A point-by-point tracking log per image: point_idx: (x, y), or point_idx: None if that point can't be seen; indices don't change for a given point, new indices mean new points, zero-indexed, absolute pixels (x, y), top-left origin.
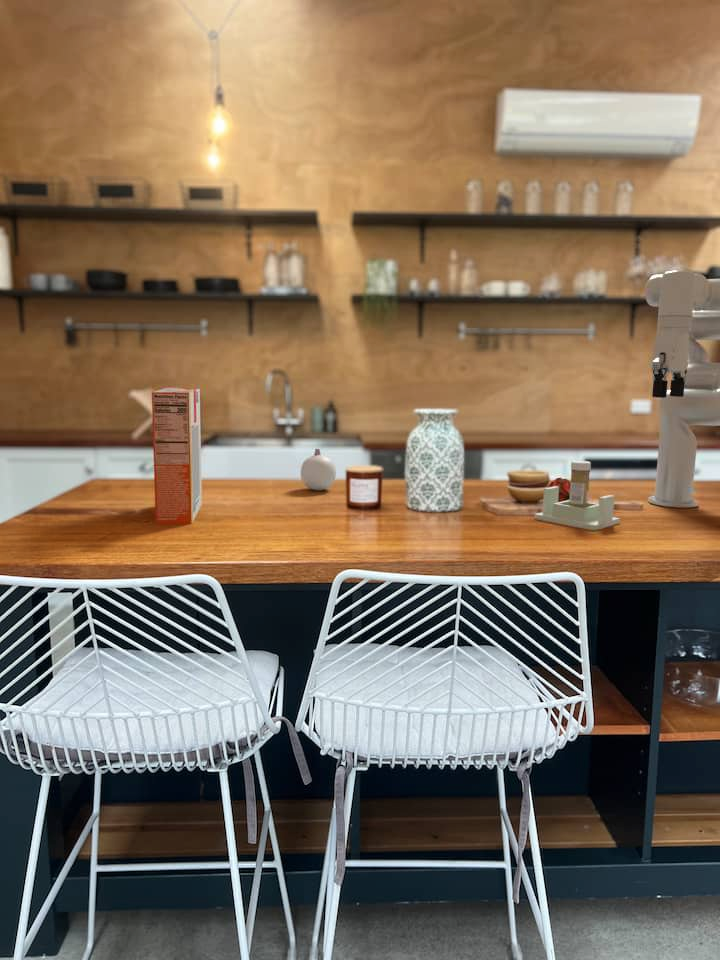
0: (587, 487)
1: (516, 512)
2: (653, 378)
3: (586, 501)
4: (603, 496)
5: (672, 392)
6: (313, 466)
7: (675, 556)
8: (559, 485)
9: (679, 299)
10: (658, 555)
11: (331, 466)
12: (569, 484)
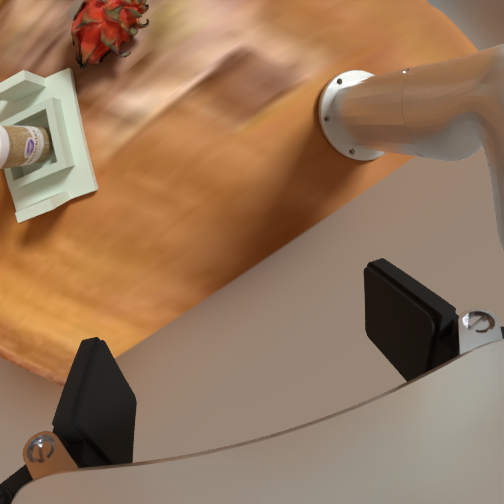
0: (15, 166)
1: (10, 49)
2: (28, 447)
3: (28, 164)
4: (27, 208)
5: (375, 291)
6: None
7: (43, 359)
8: (75, 30)
9: None
10: (27, 348)
11: None
12: (101, 29)
